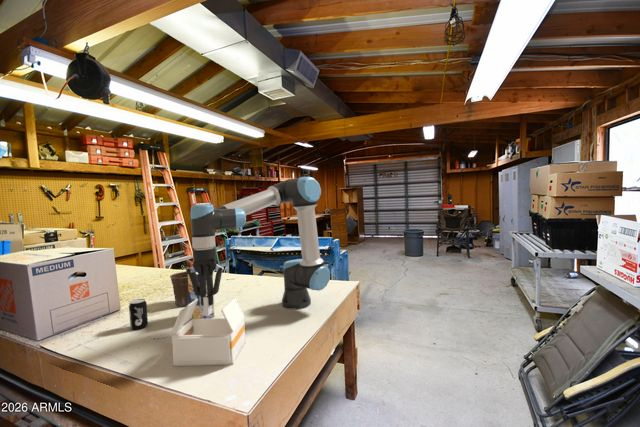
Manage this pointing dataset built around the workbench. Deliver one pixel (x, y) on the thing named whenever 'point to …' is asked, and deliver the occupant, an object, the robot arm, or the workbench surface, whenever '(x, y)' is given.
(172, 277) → the plant pot
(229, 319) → the end flap
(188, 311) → the end flap
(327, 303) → the workbench surface
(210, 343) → the carton
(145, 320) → the beverage can
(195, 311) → the beverage box
